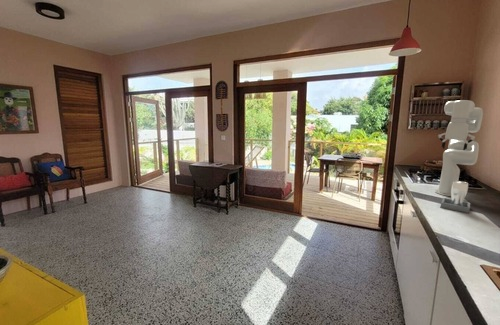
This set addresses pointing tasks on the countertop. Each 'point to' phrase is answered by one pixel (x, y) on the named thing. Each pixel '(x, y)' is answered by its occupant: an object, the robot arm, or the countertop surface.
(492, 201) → the countertop surface
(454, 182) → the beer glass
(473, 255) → the countertop surface
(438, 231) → the countertop surface
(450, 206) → the tray
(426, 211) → the countertop surface
